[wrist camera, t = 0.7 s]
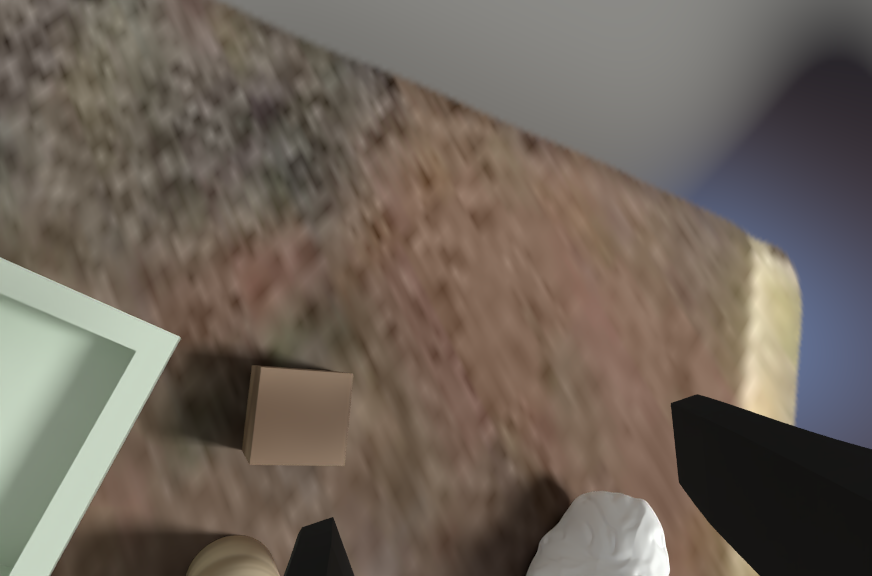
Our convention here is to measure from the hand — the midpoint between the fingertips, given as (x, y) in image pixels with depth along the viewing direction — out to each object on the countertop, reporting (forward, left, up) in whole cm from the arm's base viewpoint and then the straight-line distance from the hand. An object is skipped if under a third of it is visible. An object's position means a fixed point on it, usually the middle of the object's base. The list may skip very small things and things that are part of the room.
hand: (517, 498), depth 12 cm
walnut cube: (-1, +1, -19) cm, 19 cm away
